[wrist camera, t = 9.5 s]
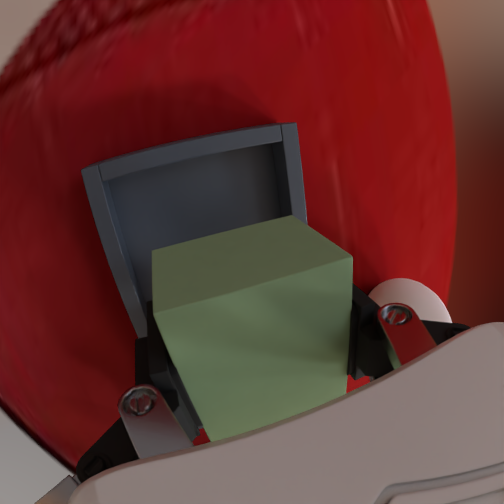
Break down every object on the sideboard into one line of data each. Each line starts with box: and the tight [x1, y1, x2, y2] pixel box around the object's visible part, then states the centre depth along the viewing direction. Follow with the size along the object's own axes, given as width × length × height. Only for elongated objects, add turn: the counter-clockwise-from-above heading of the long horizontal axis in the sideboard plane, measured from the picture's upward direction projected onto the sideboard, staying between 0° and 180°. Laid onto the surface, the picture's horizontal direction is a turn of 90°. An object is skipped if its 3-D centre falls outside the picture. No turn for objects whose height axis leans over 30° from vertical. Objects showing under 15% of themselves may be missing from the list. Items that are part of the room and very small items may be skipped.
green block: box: [152, 215, 353, 442], centre depth 10 cm, size 5×6×4 cm
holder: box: [81, 122, 307, 429], centre depth 17 cm, size 10×18×2 cm, turn 8°
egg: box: [368, 278, 452, 323], centre depth 18 cm, size 5×5×8 cm
